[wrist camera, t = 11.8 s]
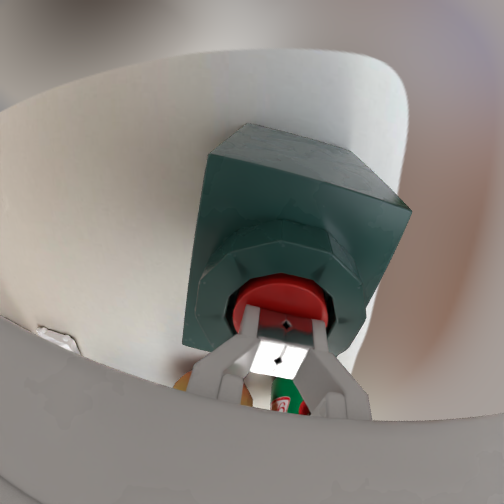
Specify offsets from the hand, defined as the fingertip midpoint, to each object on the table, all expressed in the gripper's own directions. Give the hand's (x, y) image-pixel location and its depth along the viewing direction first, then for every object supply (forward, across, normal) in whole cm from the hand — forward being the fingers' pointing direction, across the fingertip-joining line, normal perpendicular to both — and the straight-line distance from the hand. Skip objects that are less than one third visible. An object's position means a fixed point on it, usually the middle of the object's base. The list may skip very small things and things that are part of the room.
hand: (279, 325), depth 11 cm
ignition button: (+2, 0, 0) cm, 2 cm away
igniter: (+14, 0, 0) cm, 14 cm away
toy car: (+14, +26, +28) cm, 40 cm away
